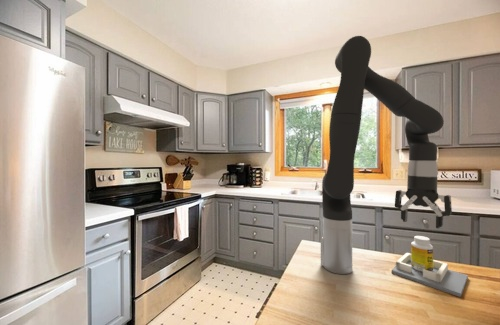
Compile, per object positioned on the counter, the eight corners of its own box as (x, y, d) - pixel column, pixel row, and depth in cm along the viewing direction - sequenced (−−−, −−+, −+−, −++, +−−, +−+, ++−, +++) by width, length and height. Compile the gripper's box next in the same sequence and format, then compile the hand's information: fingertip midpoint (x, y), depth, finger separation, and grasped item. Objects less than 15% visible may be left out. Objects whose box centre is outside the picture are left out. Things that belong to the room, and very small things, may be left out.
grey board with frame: (391, 272, 69) (391, 263, 69) (405, 259, 78) (405, 251, 78) (460, 297, 57) (460, 286, 57) (467, 278, 66) (467, 268, 66)
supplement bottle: (429, 275, 66) (429, 242, 65) (408, 268, 70) (408, 237, 70) (435, 270, 69) (435, 238, 69) (415, 263, 73) (414, 233, 73)
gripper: (392, 173, 72) (391, 221, 73) (449, 176, 61) (448, 233, 62) (400, 173, 77) (399, 217, 77) (454, 175, 66) (452, 228, 66)
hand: (420, 224), depth 70 cm, fingers open, 8 cm apart
